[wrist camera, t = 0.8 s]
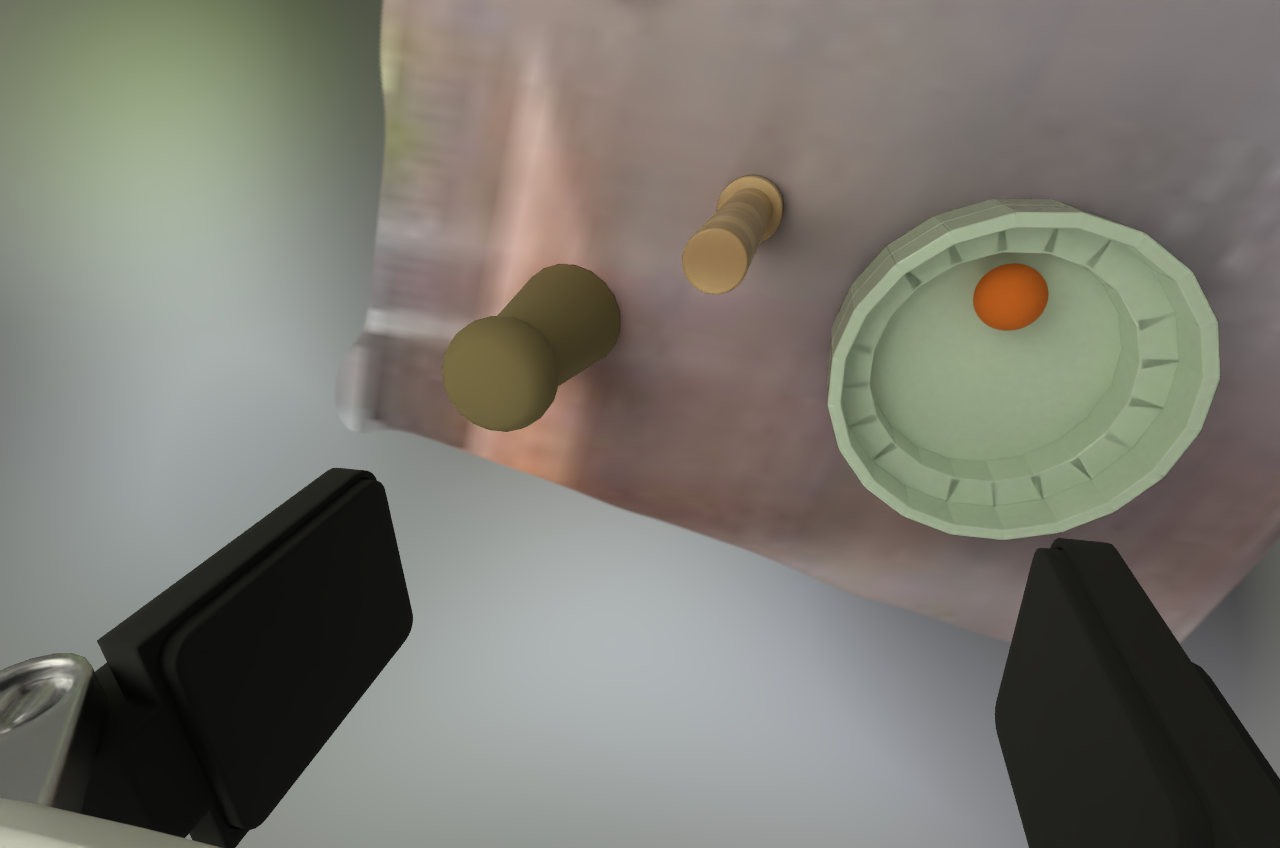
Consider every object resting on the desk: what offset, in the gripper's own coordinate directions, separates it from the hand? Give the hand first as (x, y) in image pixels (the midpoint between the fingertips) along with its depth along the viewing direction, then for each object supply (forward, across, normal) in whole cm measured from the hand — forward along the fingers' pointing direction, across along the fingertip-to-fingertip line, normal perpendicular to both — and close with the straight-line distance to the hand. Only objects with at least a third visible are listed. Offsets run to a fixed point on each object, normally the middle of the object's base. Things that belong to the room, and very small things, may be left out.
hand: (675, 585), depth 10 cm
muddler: (+28, +2, -2) cm, 28 cm away
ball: (+25, -10, +2) cm, 28 cm away
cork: (+28, +12, +4) cm, 30 cm away
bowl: (+28, -10, +5) cm, 30 cm away
